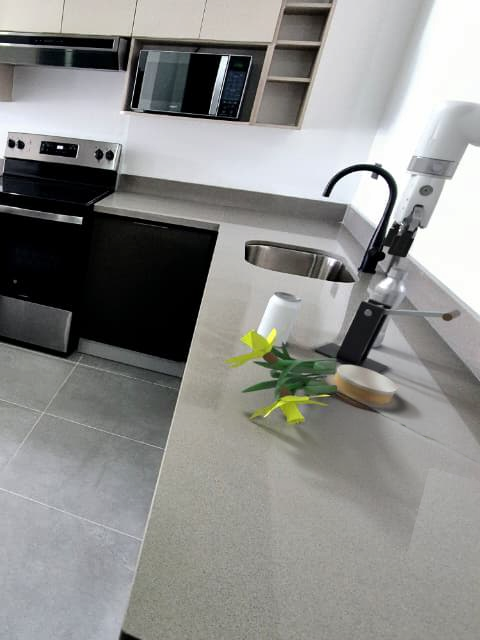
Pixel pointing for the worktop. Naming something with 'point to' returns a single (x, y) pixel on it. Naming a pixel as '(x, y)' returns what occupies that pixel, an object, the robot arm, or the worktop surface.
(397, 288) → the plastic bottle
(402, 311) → the lever
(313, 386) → the daffodil flowers
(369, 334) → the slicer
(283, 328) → the can
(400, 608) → the worktop surface
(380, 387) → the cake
